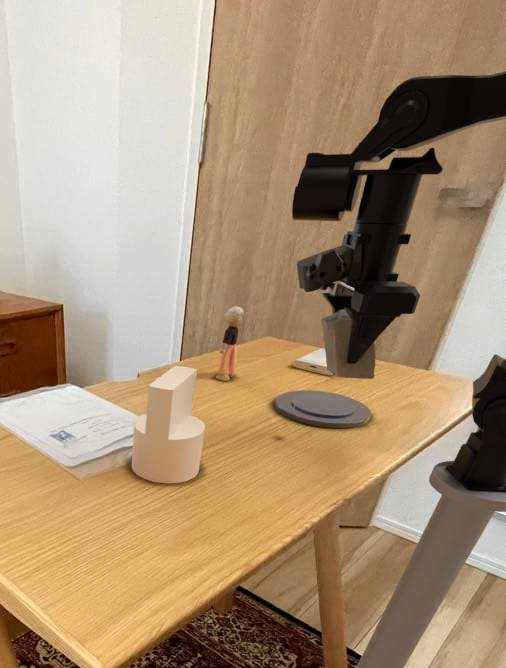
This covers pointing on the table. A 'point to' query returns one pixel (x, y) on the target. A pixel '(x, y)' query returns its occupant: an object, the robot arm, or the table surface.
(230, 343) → the grandmother figurine
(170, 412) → the base with upright slab
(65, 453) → the table surface
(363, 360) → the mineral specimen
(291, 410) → the plate
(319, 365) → the hard drive
